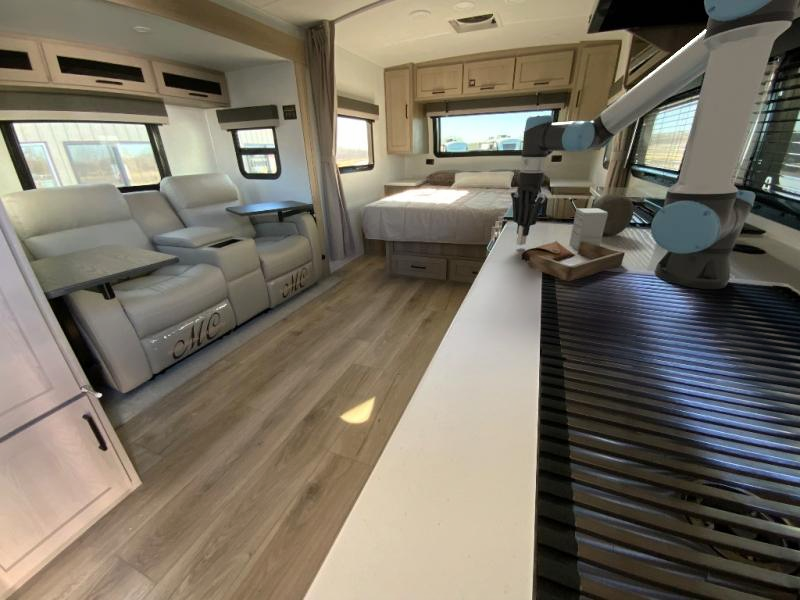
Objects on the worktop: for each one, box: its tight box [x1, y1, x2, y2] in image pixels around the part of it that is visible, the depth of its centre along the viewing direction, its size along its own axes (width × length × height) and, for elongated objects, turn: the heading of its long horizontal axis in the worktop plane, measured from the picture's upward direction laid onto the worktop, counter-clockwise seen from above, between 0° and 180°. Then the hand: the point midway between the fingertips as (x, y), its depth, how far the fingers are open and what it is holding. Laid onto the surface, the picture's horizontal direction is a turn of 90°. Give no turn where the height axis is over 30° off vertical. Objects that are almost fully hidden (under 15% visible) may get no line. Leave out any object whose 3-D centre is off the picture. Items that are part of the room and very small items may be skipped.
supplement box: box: [569, 207, 608, 251], centre depth 112 cm, size 7×7×13 cm
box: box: [528, 241, 626, 283], centre depth 98 cm, size 14×24×4 cm, turn 119°
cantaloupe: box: [591, 193, 635, 237], centre depth 124 cm, size 14×14×15 cm
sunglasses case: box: [521, 240, 576, 262], centre depth 106 cm, size 18×7×7 cm, turn 126°
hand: (521, 244), depth 114 cm, fingers closed
